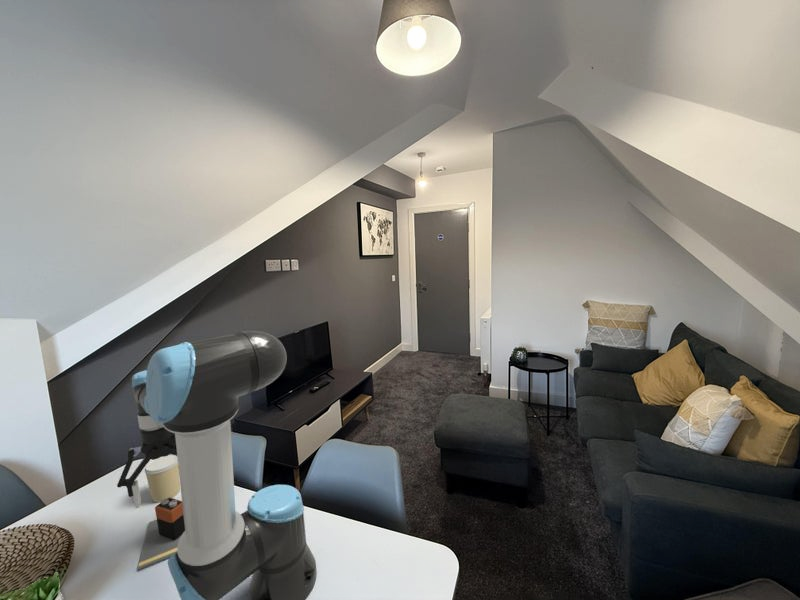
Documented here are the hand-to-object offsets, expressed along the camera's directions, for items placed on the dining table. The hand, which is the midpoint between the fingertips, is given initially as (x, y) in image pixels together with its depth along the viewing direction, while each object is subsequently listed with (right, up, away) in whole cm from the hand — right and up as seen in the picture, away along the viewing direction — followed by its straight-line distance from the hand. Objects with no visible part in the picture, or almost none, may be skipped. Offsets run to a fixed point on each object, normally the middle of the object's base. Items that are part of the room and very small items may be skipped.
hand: (168, 495), depth 92 cm
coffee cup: (-14, -11, +19) cm, 26 cm away
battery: (0, -12, +2) cm, 12 cm away
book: (0, -13, +2) cm, 13 cm away
